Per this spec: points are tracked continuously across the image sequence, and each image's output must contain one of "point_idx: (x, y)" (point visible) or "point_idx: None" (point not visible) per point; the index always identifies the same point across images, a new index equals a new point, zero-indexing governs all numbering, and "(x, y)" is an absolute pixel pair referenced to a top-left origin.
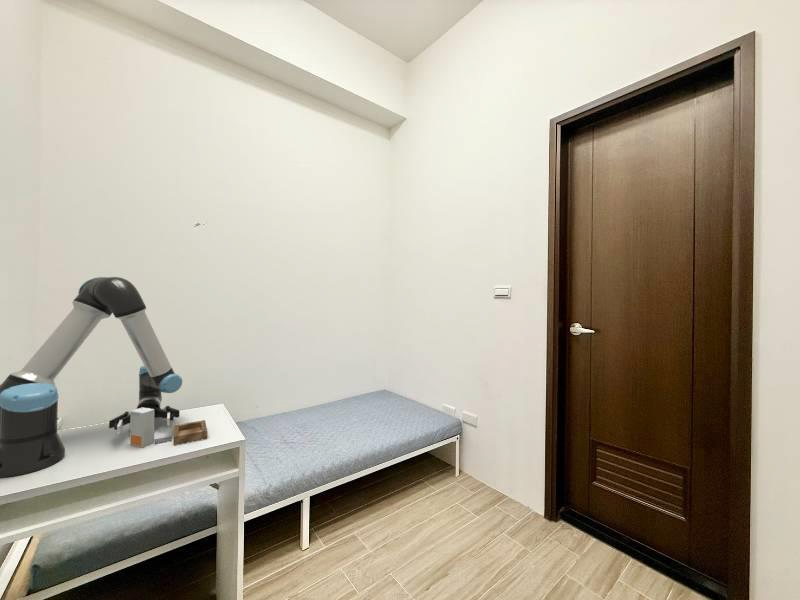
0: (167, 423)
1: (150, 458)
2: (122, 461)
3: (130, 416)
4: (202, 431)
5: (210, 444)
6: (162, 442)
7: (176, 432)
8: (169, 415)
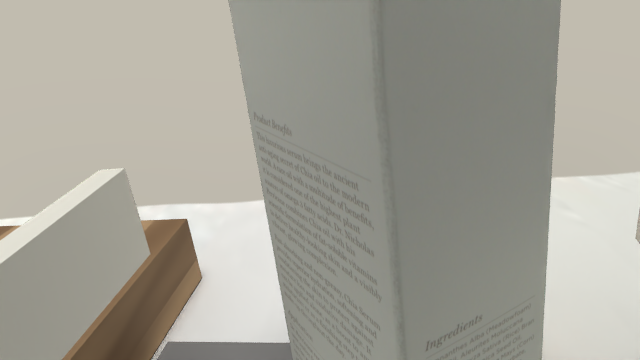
0: (139, 228)
1: None
2: None
3: (554, 59)
4: (13, 226)
5: None
6: (239, 348)
7: None
8: (31, 220)
